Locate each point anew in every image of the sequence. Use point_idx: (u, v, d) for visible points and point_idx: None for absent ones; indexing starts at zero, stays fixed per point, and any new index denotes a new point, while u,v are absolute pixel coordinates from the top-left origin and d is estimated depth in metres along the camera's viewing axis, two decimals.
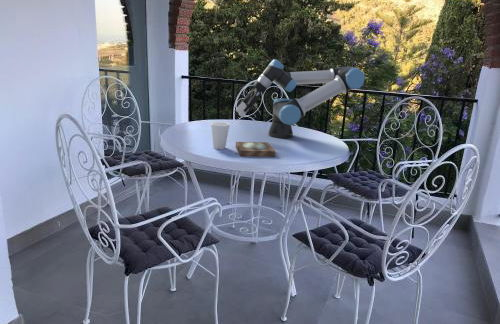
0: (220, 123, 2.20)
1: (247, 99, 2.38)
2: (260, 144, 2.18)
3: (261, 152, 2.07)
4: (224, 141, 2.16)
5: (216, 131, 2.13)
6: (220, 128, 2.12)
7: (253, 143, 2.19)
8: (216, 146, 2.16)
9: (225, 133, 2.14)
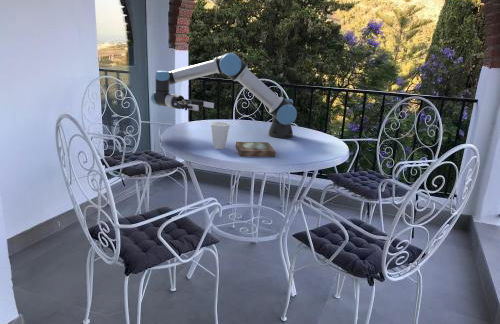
0: (220, 123, 2.20)
1: (198, 103, 2.27)
2: (260, 144, 2.18)
3: (261, 152, 2.07)
4: (224, 141, 2.16)
5: (216, 131, 2.13)
6: (220, 128, 2.12)
7: (253, 143, 2.19)
8: (216, 146, 2.16)
9: (225, 133, 2.14)
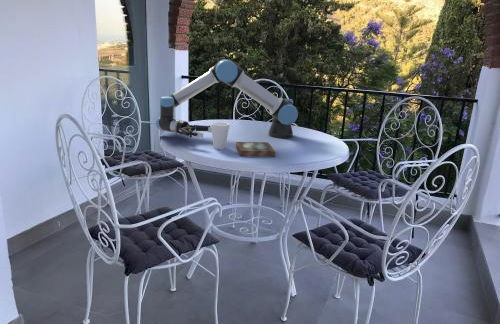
0: (220, 123, 2.20)
1: (202, 129, 2.29)
2: (260, 144, 2.18)
3: (261, 152, 2.07)
4: (224, 141, 2.16)
5: (216, 131, 2.13)
6: (220, 128, 2.12)
7: (253, 143, 2.19)
8: (216, 146, 2.16)
9: (225, 133, 2.14)
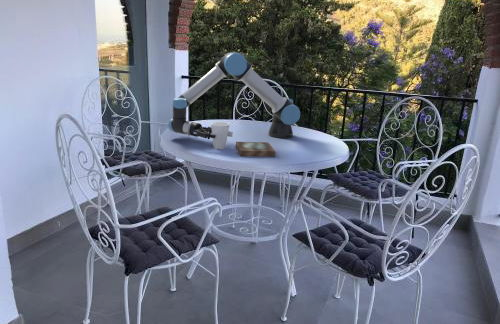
0: (220, 123, 2.20)
1: None
2: (260, 144, 2.18)
3: (261, 152, 2.07)
4: (224, 141, 2.16)
5: (216, 131, 2.13)
6: (220, 128, 2.12)
7: (253, 143, 2.19)
8: (216, 146, 2.16)
9: (225, 133, 2.14)
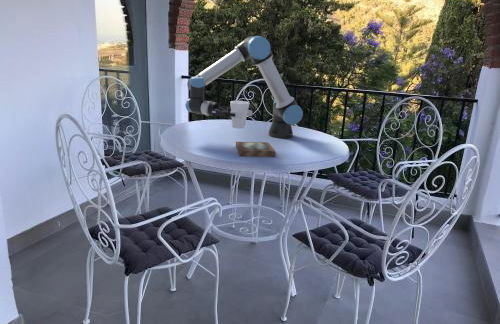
0: (239, 102, 2.13)
1: None
2: (260, 144, 2.18)
3: (261, 152, 2.07)
4: (244, 120, 2.10)
5: (235, 110, 2.07)
6: (240, 106, 2.05)
7: (253, 143, 2.19)
8: (235, 125, 2.10)
9: (245, 111, 2.08)
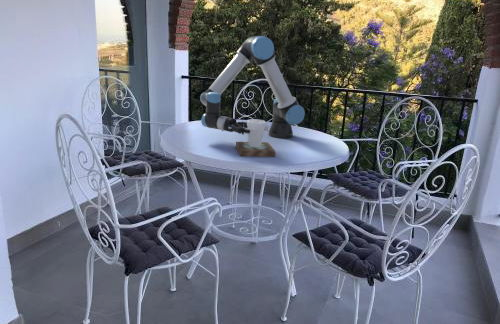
0: (255, 120, 2.15)
1: None
2: None
3: (261, 152, 2.07)
4: (260, 139, 2.11)
5: None
6: (257, 126, 2.07)
7: None
8: (252, 144, 2.12)
9: (261, 131, 2.10)
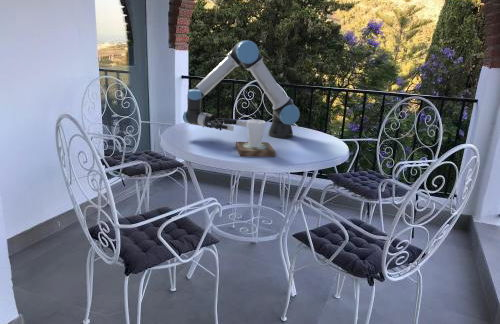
0: (256, 120, 2.15)
1: (231, 122, 2.26)
2: None
3: (261, 152, 2.07)
4: (260, 139, 2.11)
5: (252, 129, 2.08)
6: (257, 125, 2.07)
7: None
8: (252, 144, 2.12)
9: (262, 131, 2.10)
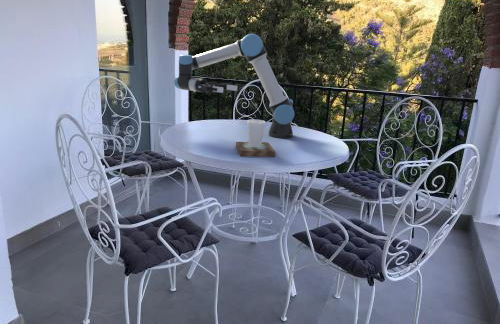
0: (256, 120, 2.15)
1: (221, 86, 2.30)
2: None
3: (261, 152, 2.07)
4: (260, 139, 2.11)
5: (252, 129, 2.08)
6: (257, 125, 2.07)
7: None
8: (252, 144, 2.12)
9: (262, 131, 2.10)
